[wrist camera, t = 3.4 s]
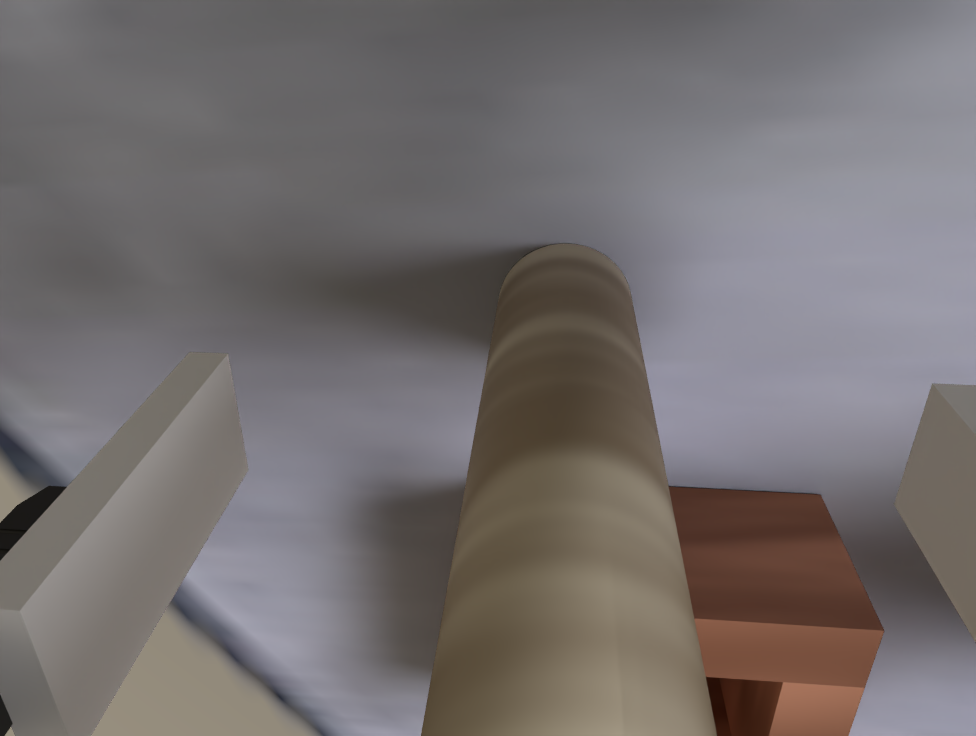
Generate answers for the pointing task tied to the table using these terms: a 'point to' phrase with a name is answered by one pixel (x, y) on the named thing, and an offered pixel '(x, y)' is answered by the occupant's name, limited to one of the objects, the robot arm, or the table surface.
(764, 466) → the table surface
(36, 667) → the robot arm
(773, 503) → the brown hollow square block
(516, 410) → the wooden dowel rod
